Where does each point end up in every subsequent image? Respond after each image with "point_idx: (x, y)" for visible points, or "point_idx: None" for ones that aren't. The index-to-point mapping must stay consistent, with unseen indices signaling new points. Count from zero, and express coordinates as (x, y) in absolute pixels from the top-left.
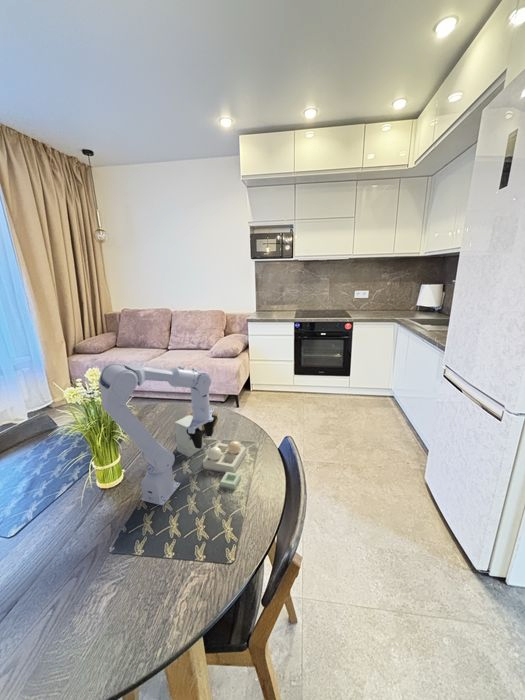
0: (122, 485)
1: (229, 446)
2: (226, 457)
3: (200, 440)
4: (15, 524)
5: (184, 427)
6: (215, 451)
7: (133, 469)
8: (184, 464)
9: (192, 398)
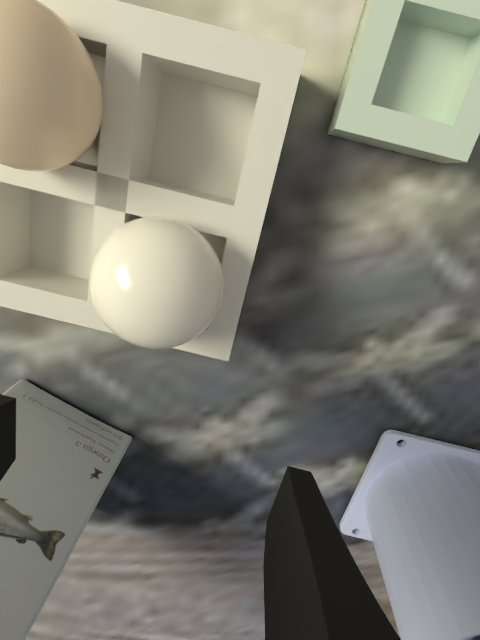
0: None
1: (45, 133)
2: (137, 173)
3: (387, 621)
4: None
5: None
6: (181, 280)
7: (254, 631)
8: (201, 447)
9: None
